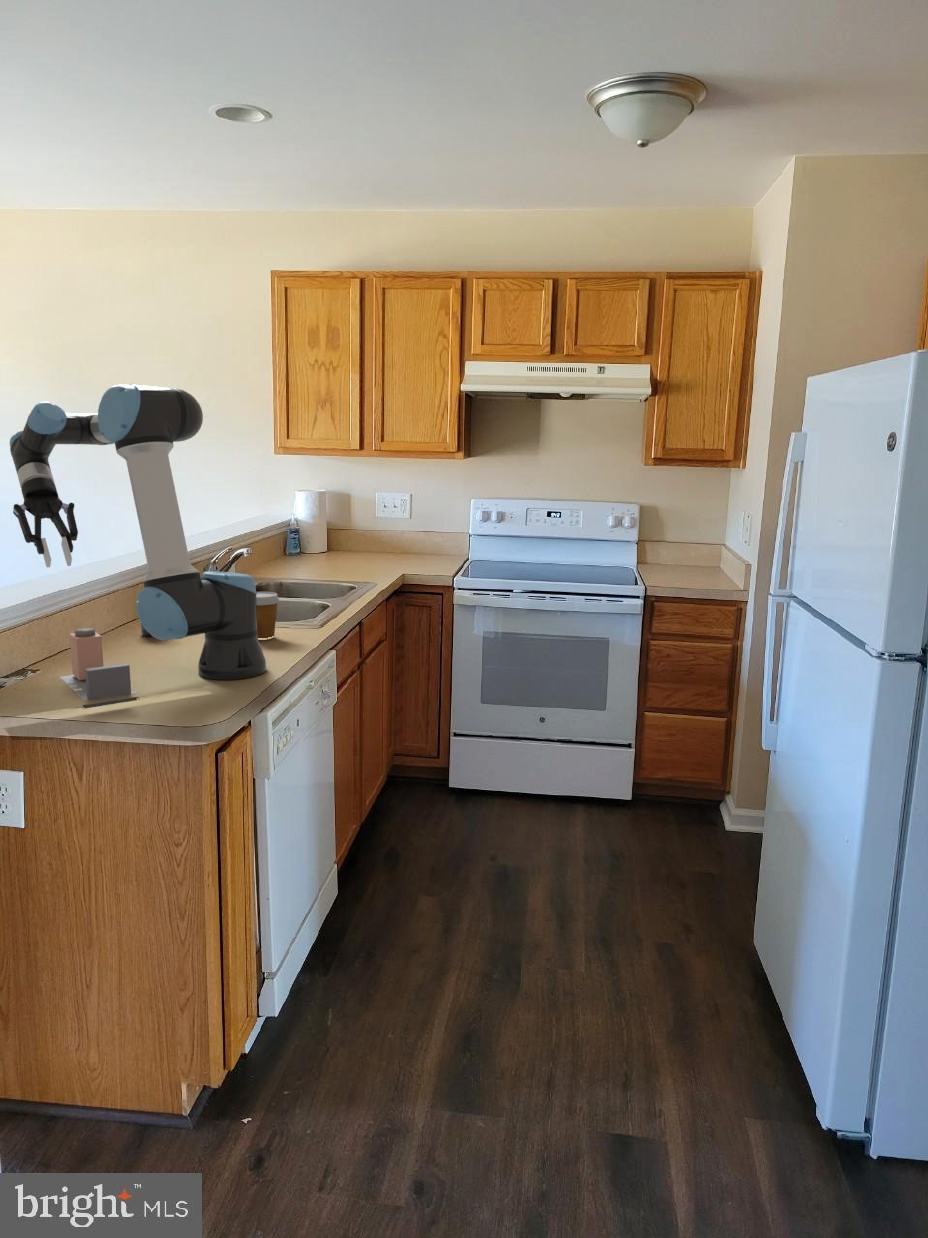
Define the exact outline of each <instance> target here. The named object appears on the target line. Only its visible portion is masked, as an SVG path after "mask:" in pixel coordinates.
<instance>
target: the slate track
mask: <svg viewBox="0 0 928 1238" xmlns="http://www.w3.org/2000/svg"><path fill="white" fill-rule="evenodd" d="M130 669H131V668H130V665H129V664H128V663H126V662H125V663H118V664H112V665H105V666H104V665H103V666H102V667H95V668H88V669H85V675H86V679H84V680H79V679H78V678H77V677H75V676H74V675H73V674H69V675H64V676H59V678H60V679H61V680H62V681H63V682H64V683H65V684H66V685H67V686H68V687H69V688H70V689H71V690H72V691H73V692H74V693H75V694H76V695H77V696H79V698H80V699H82V701H84V702H88V701H89V702H90V701H97V700H102V699H103V700H104V699H109V698H110V699H111V698H115V697H122V696H128V695H135V694H137V692H136V691H134V689H132V686H131V684H132V683H131V682H132V681H131V670H130ZM137 700H138V697H137V696H134V697H133V696H132V697H128V698H123V699H116V700H109V701H102V702H97V703H90V704H89V703H88V704H84V705H82V707H83V708H84V709H90V708H96V707H103V706H109V705H116V704H122V703H129V702H133V701H134V702H135V701H137Z"/></svg>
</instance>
